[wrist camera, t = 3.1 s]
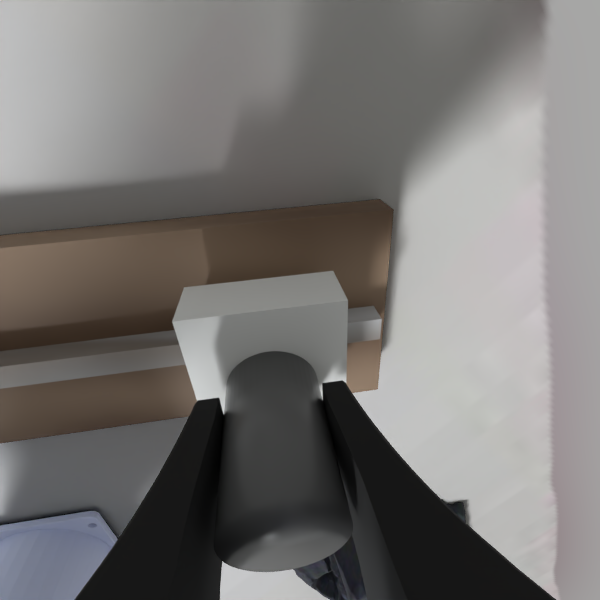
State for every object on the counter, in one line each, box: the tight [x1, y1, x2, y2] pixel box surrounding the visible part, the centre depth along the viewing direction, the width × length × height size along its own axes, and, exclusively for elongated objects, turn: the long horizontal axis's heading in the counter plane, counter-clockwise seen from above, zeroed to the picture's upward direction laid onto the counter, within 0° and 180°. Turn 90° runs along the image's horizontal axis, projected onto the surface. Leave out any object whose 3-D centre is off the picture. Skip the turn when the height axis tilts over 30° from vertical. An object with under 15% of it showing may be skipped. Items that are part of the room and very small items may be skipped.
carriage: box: [172, 271, 353, 572], centre depth 10 cm, size 6×5×8 cm
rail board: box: [0, 199, 394, 443], centre depth 14 cm, size 9×20×2 cm, turn 93°
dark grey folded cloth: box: [294, 499, 466, 600], centre depth 30 cm, size 15×22×5 cm
